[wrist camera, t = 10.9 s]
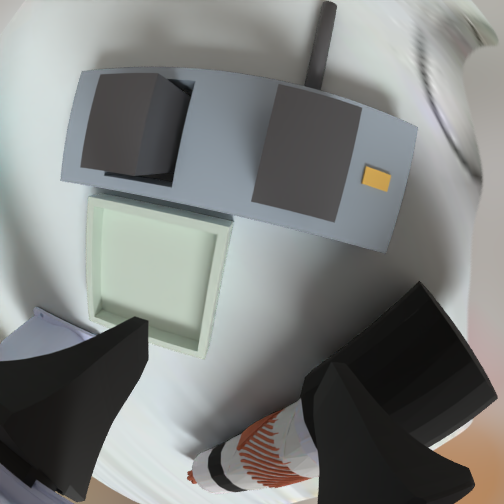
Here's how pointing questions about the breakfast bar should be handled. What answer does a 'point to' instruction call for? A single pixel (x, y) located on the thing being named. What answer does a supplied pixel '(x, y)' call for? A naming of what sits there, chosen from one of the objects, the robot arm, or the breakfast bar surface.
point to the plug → (135, 124)
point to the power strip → (240, 155)
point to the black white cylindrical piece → (380, 388)
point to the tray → (155, 269)
